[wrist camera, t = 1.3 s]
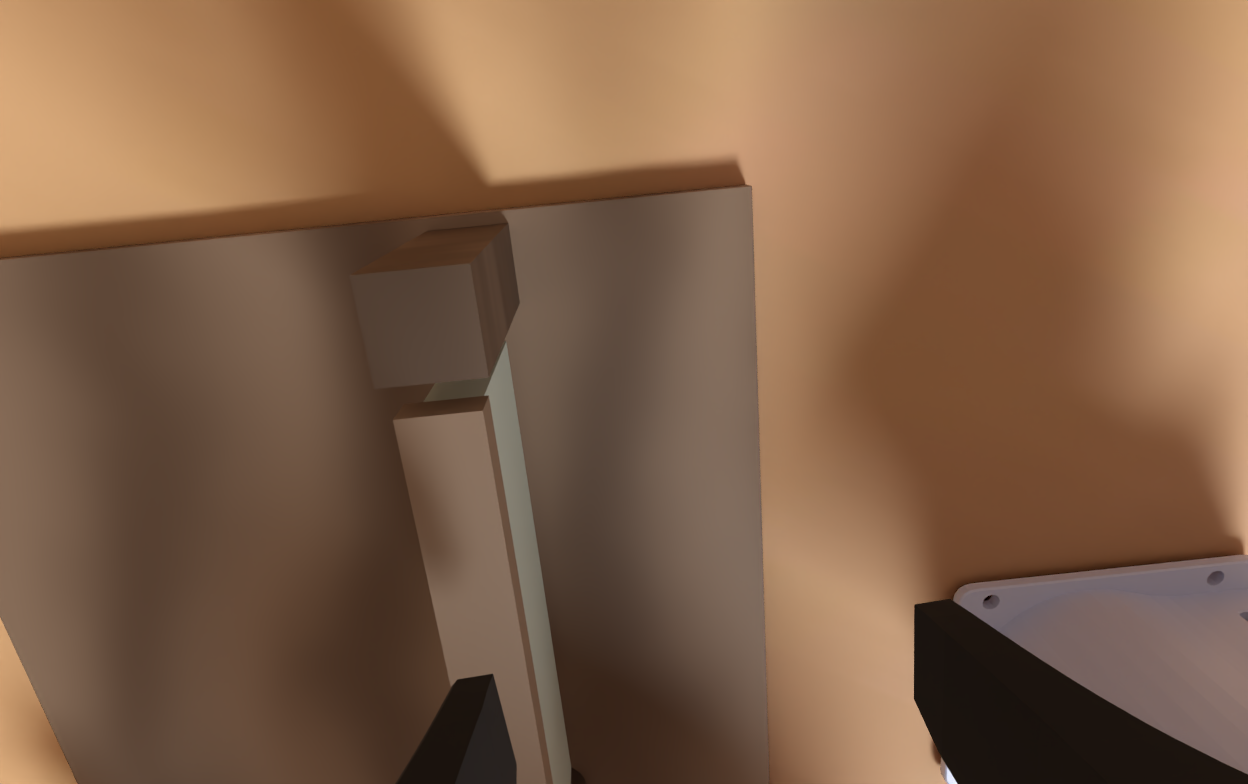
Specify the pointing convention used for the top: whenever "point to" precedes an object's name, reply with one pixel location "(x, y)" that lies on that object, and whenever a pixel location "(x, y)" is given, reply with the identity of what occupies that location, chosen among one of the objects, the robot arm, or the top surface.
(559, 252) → the brown piece
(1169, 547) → the top surface
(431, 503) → the panel
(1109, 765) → the robot arm
